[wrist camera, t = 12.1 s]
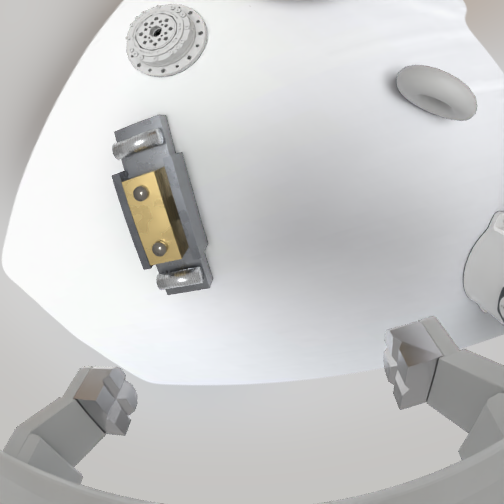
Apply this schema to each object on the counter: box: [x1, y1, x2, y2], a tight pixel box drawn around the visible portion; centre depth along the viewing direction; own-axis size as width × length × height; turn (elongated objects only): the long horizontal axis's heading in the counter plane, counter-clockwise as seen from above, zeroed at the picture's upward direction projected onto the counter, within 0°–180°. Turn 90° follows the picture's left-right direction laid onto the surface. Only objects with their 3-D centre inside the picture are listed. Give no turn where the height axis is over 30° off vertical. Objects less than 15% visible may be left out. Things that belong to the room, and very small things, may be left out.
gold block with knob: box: [122, 167, 189, 266], centre depth 32 cm, size 4×10×4 cm, turn 14°
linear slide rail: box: [112, 115, 213, 295], centre depth 34 cm, size 8×22×4 cm, turn 13°
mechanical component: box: [126, 4, 207, 77], centre depth 26 cm, size 10×4×10 cm
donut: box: [397, 65, 477, 121], centre depth 24 cm, size 10×3×10 cm, turn 74°
